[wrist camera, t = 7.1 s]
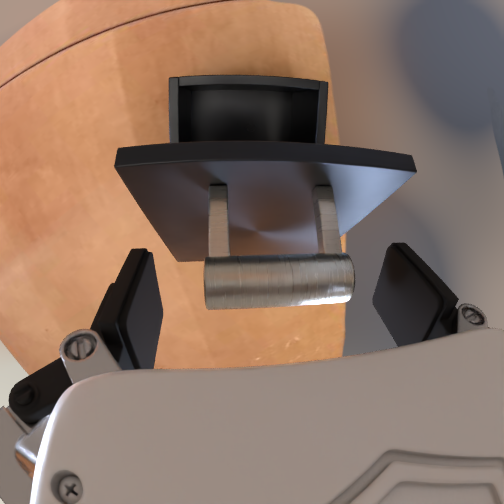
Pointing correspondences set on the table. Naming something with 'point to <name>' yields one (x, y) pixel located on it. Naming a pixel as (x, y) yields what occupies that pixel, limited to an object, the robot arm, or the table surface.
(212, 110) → the black hollow box
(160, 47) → the table surface
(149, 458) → the robot arm
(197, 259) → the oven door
